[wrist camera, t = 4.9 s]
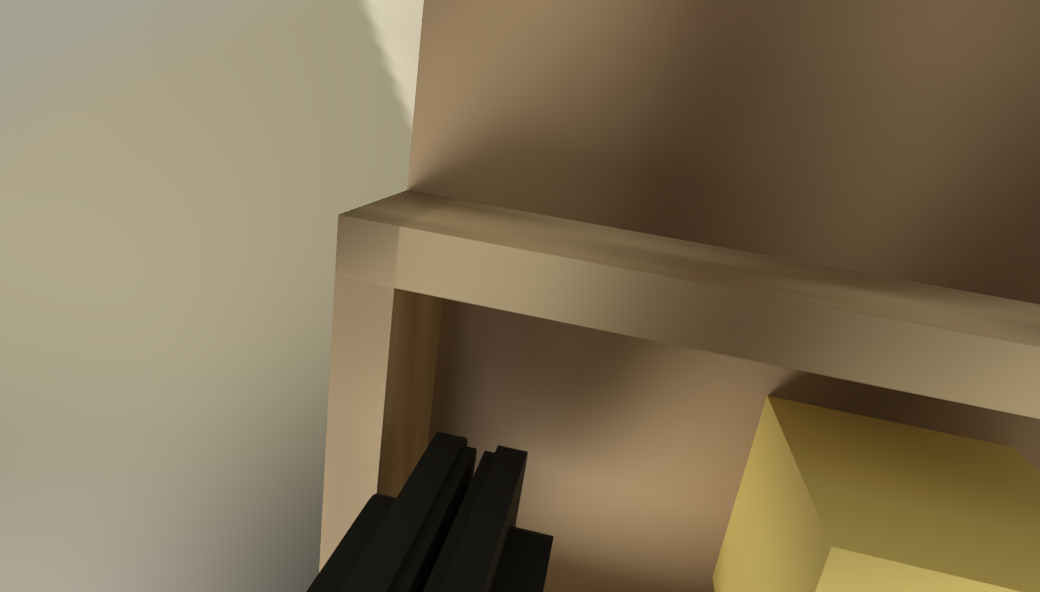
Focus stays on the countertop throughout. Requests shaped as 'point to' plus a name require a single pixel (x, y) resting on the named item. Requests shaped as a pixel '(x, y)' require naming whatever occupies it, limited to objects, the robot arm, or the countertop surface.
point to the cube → (878, 509)
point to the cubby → (625, 321)
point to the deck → (715, 228)
